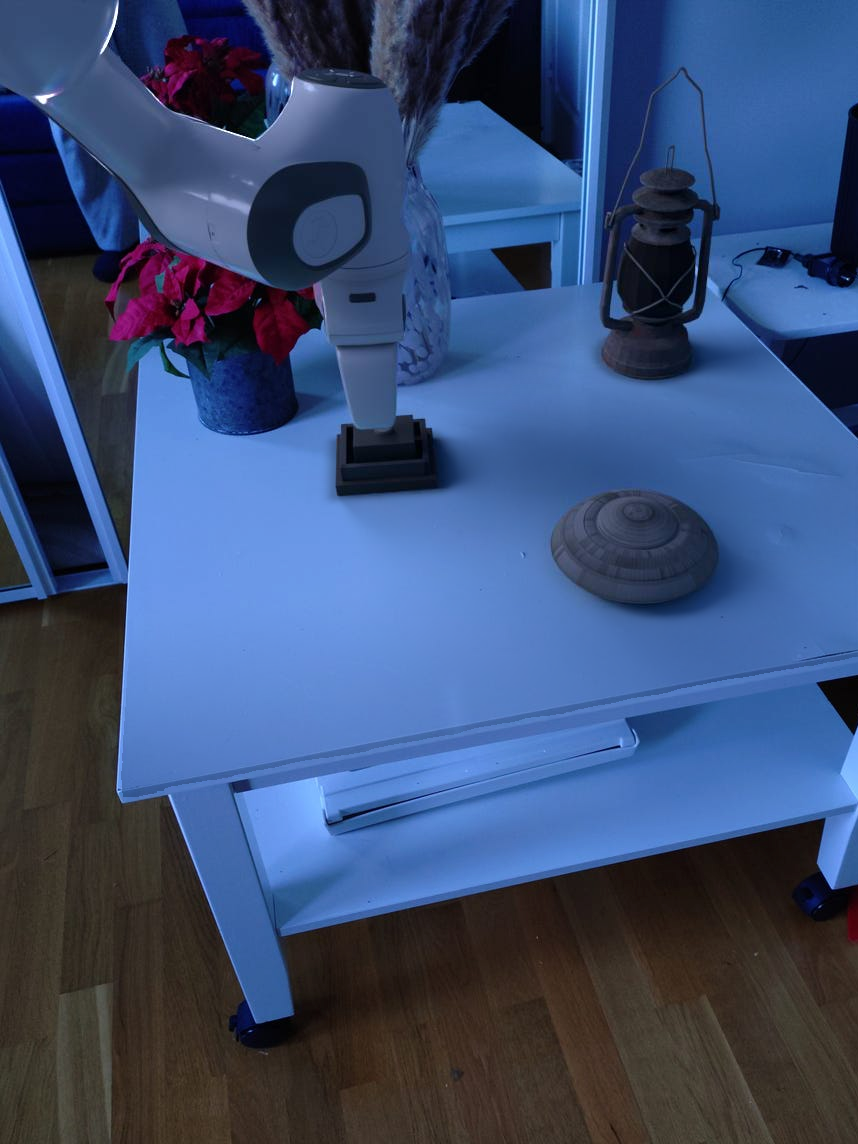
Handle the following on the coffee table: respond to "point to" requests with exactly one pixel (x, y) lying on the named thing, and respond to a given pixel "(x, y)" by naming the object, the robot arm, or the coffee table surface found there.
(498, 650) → the coffee table surface
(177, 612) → the coffee table surface
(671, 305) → the lantern
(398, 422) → the small block
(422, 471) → the black open box
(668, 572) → the flying saucer
